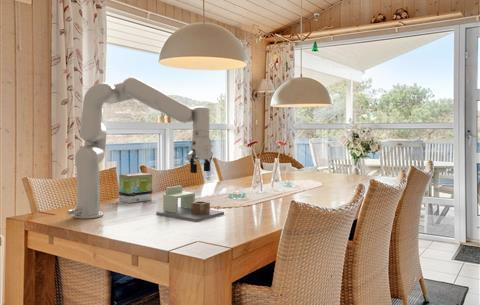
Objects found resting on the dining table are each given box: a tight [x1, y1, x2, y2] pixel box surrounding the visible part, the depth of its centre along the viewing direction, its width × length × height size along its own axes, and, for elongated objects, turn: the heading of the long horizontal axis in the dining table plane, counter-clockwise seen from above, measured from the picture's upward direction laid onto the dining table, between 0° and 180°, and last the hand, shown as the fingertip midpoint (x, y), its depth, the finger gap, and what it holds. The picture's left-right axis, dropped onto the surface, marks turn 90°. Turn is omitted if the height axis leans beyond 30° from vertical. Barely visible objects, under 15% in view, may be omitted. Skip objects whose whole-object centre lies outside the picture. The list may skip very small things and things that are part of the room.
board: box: [155, 206, 225, 223], centre depth 191 cm, size 20×24×5 cm
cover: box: [162, 185, 196, 213], centre depth 195 cm, size 13×8×10 cm, turn 146°
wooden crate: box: [191, 200, 211, 215], centre depth 188 cm, size 6×6×5 cm
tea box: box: [118, 172, 153, 204], centre depth 224 cm, size 15×10×15 cm
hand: (200, 172), depth 187 cm, fingers open, 9 cm apart
